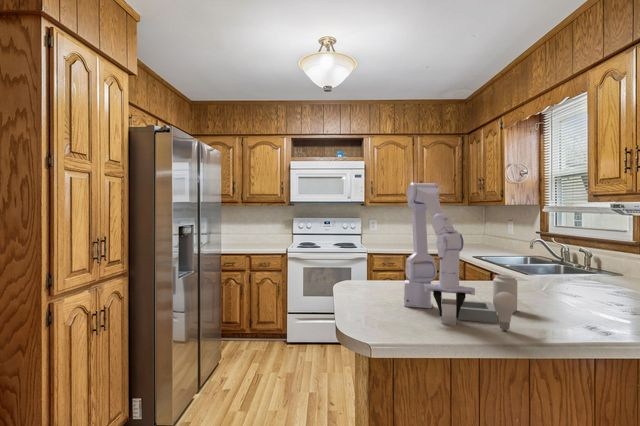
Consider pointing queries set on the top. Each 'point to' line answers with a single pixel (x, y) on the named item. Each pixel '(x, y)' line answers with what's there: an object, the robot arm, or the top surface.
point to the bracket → (449, 311)
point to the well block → (478, 311)
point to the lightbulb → (504, 308)
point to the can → (505, 285)
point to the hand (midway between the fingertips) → (448, 316)
